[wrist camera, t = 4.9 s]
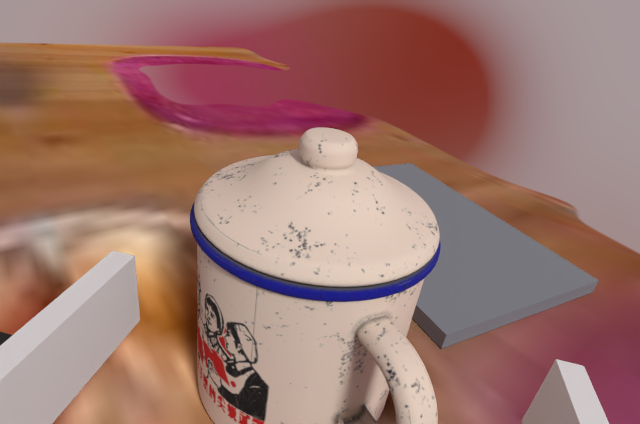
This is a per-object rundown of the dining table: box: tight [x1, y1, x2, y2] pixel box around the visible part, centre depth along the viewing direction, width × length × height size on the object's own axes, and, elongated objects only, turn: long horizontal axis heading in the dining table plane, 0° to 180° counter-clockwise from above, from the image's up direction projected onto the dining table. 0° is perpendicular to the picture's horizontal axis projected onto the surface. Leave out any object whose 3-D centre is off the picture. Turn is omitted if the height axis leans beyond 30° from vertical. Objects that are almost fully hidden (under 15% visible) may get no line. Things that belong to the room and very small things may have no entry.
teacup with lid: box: [190, 128, 441, 424], centre depth 16 cm, size 12×9×12 cm
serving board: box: [373, 163, 599, 349], centre depth 33 cm, size 20×14×1 cm
